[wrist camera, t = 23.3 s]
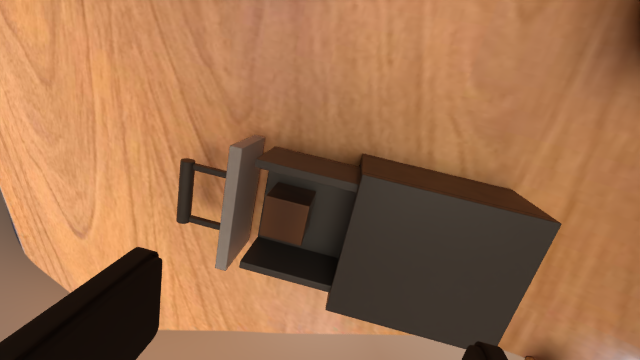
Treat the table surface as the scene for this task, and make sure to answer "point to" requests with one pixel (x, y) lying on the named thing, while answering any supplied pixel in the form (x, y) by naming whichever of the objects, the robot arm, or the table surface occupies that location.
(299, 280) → the drawer
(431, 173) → the cabinet
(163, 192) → the table surface
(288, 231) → the block
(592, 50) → the table surface
